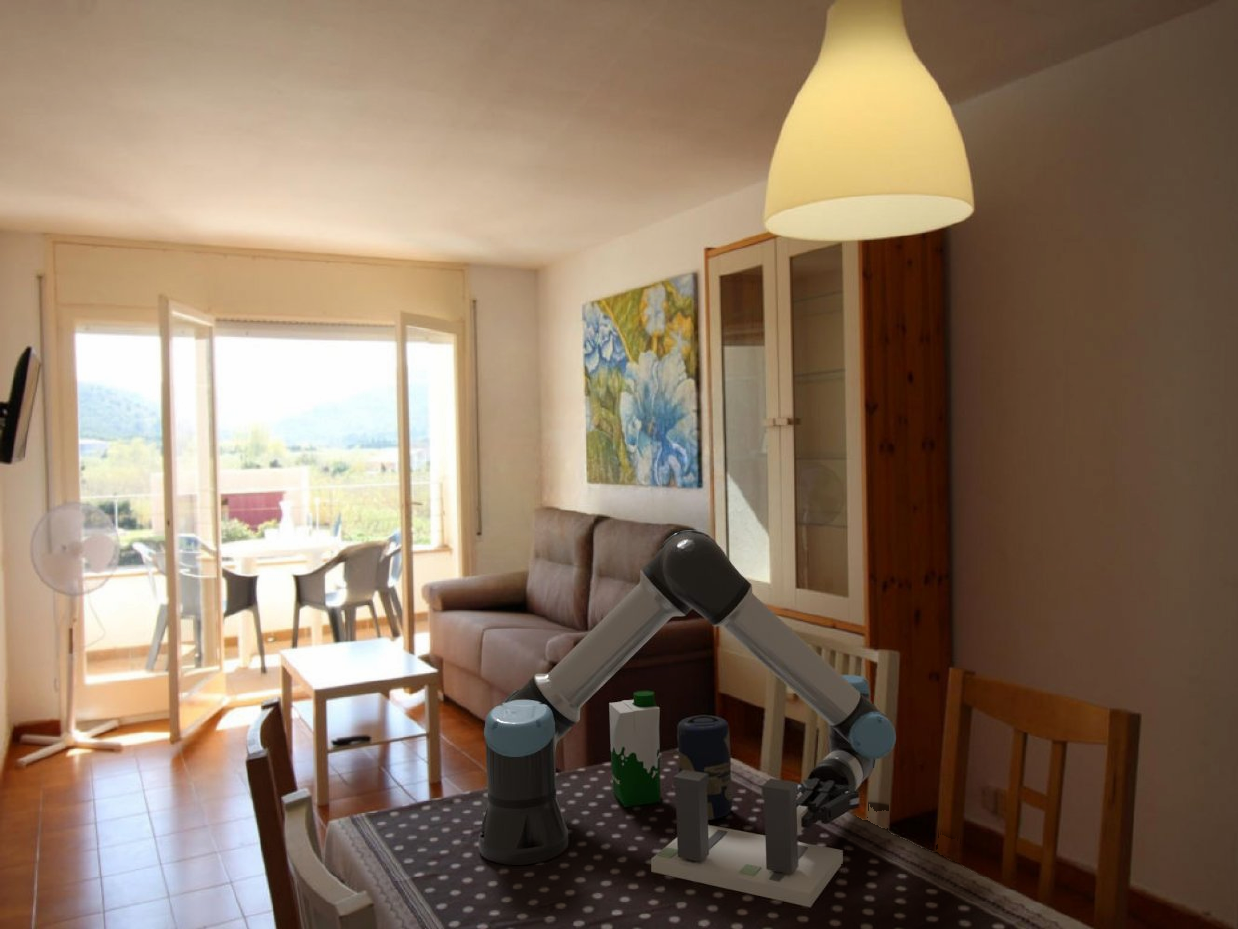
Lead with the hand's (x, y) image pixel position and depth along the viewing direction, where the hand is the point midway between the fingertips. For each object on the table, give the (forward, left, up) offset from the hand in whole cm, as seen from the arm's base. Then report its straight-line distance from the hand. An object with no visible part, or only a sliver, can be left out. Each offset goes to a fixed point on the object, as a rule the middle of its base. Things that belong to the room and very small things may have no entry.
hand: (789, 829), depth 145 cm
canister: (-23, +18, -8) cm, 30 cm away
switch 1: (-15, -4, -5) cm, 16 cm away
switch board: (-8, +1, -8) cm, 11 cm away
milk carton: (-38, +19, -8) cm, 43 cm away
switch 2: (-1, -2, -5) cm, 6 cm away
